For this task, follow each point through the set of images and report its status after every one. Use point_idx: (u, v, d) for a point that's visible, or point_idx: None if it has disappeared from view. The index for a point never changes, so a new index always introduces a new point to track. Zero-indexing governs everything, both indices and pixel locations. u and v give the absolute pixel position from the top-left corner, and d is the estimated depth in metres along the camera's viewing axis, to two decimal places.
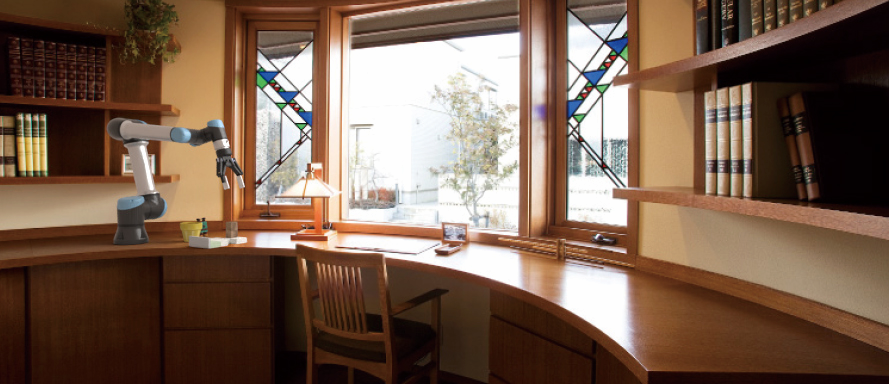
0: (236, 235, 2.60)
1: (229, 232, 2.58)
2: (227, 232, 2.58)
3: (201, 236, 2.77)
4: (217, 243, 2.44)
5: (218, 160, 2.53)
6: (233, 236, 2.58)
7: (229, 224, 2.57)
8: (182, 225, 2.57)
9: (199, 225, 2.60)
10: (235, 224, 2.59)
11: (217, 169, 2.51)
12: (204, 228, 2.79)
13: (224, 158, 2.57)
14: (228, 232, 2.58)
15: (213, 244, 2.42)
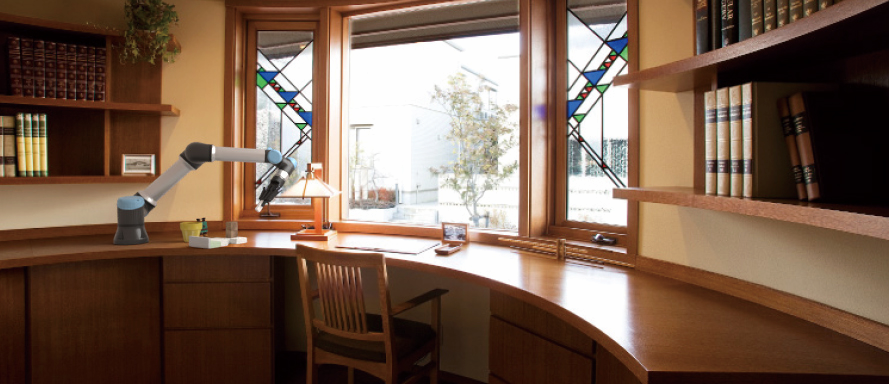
0: (236, 235, 2.60)
1: (229, 232, 2.58)
2: (227, 232, 2.58)
3: (201, 236, 2.77)
4: (217, 243, 2.44)
5: (279, 190, 2.81)
6: (233, 236, 2.58)
7: (229, 224, 2.57)
8: (182, 225, 2.57)
9: (199, 225, 2.60)
10: (235, 224, 2.59)
11: (272, 196, 2.78)
12: (204, 228, 2.79)
13: None
14: (228, 232, 2.58)
15: (213, 244, 2.42)
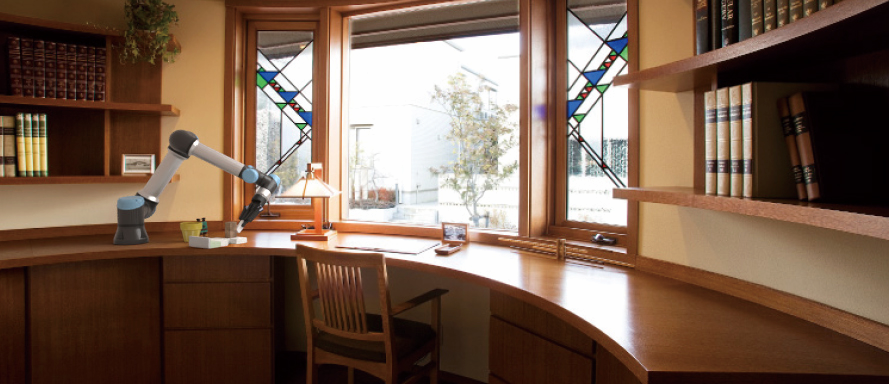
0: (235, 235, 2.59)
1: (228, 232, 2.57)
2: (226, 232, 2.58)
3: (201, 236, 2.77)
4: (217, 243, 2.44)
5: (260, 210, 2.68)
6: (232, 236, 2.58)
7: (228, 224, 2.57)
8: (182, 225, 2.57)
9: (199, 225, 2.60)
10: (234, 224, 2.59)
11: (253, 216, 2.66)
12: (204, 228, 2.79)
13: None
14: (227, 232, 2.57)
15: (213, 244, 2.42)
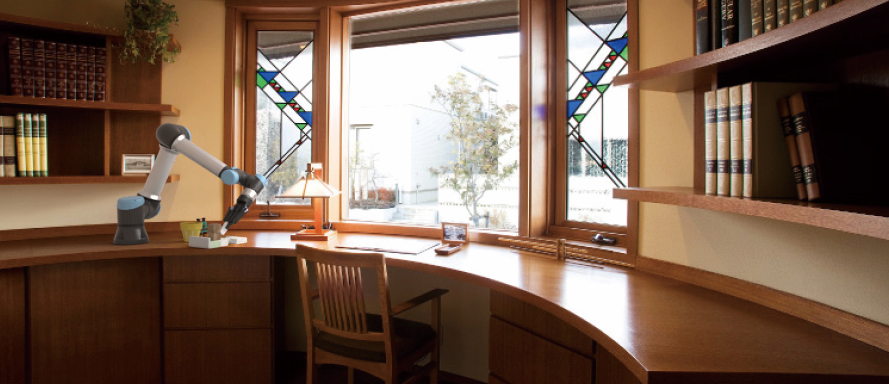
0: (219, 237, 2.50)
1: (211, 234, 2.48)
2: (209, 234, 2.48)
3: (201, 236, 2.77)
4: (217, 243, 2.44)
5: (245, 211, 2.59)
6: (216, 239, 2.48)
7: (211, 226, 2.47)
8: (182, 225, 2.57)
9: (199, 225, 2.60)
10: (218, 226, 2.49)
11: (237, 217, 2.56)
12: (204, 228, 2.79)
13: None
14: (210, 234, 2.48)
15: (213, 244, 2.42)
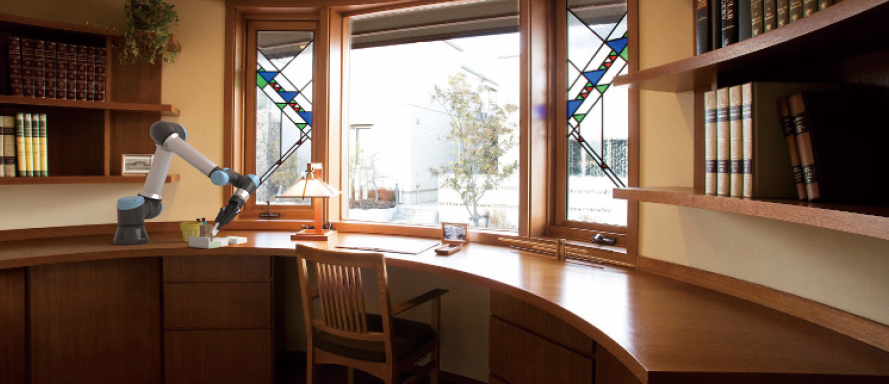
0: (211, 239, 2.46)
1: (203, 235, 2.44)
2: (201, 235, 2.44)
3: None
4: (217, 243, 2.44)
5: (237, 212, 2.55)
6: None
7: (203, 227, 2.43)
8: (182, 225, 2.57)
9: (199, 225, 2.60)
10: (210, 227, 2.45)
11: (229, 218, 2.53)
12: None
13: None
14: (202, 235, 2.44)
15: (213, 244, 2.42)
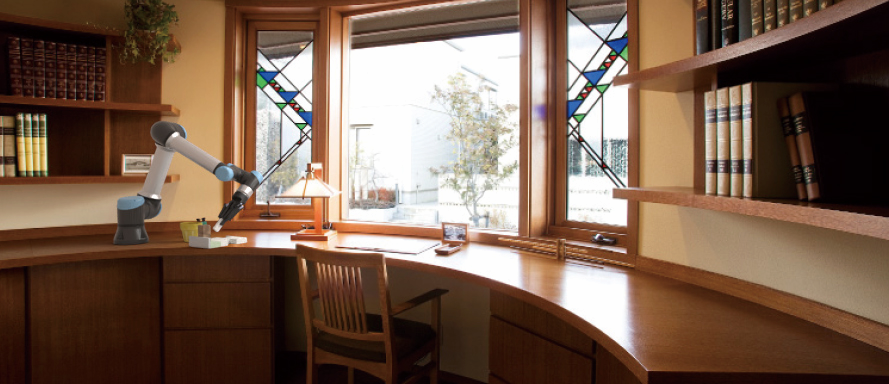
0: None
1: (201, 236, 2.43)
2: (199, 236, 2.43)
3: None
4: (217, 243, 2.44)
5: (240, 208, 2.57)
6: None
7: (201, 227, 2.43)
8: (182, 225, 2.57)
9: None
10: (208, 227, 2.44)
11: (232, 214, 2.54)
12: None
13: None
14: (200, 236, 2.43)
15: (213, 244, 2.42)
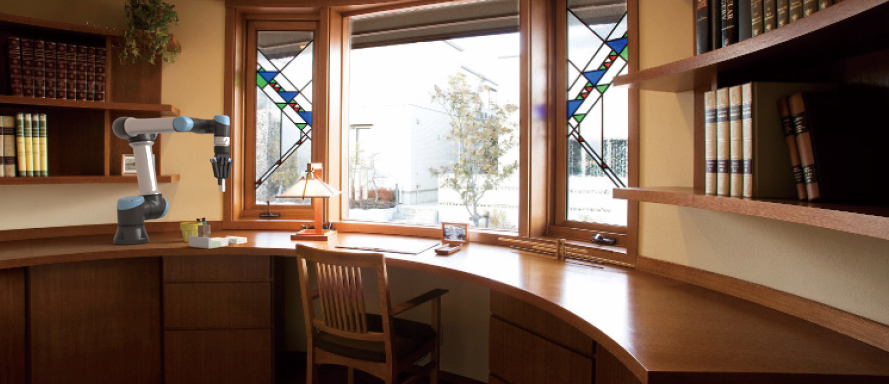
0: None
1: (201, 236, 2.43)
2: (199, 236, 2.43)
3: None
4: (217, 243, 2.44)
5: (212, 162, 2.53)
6: None
7: (201, 227, 2.43)
8: (182, 225, 2.57)
9: None
10: (208, 227, 2.44)
11: (214, 171, 2.55)
12: None
13: (218, 155, 2.55)
14: (200, 236, 2.43)
15: (213, 244, 2.42)
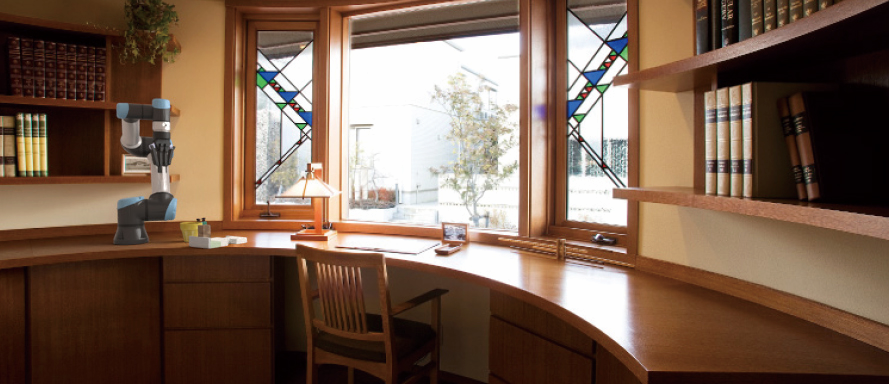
0: None
1: (201, 236, 2.43)
2: (199, 236, 2.43)
3: None
4: (217, 243, 2.44)
5: (150, 148, 2.38)
6: None
7: (201, 227, 2.43)
8: (182, 225, 2.57)
9: None
10: (208, 227, 2.44)
11: (152, 158, 2.40)
12: None
13: (157, 141, 2.40)
14: (200, 236, 2.43)
15: (213, 244, 2.42)
